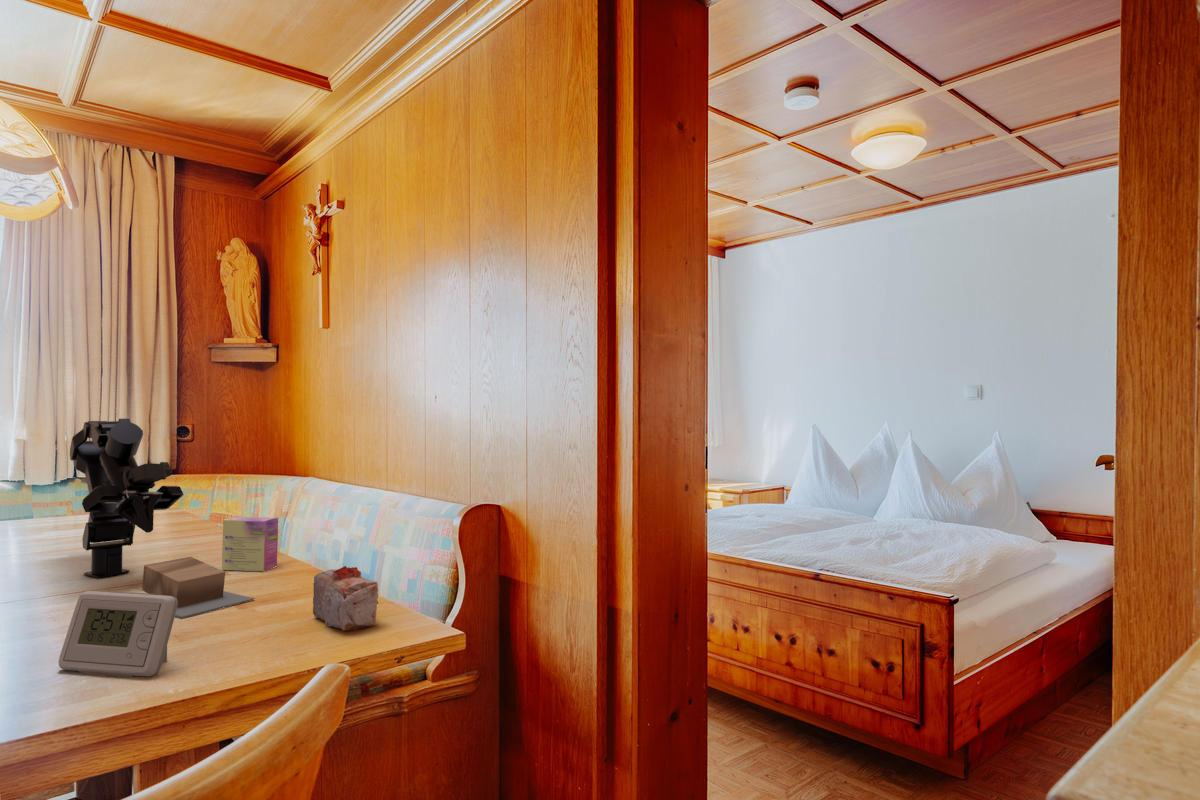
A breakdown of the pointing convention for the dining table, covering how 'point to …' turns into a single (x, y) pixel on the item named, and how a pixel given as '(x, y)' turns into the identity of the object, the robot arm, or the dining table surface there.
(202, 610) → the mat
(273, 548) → the box
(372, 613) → the food item
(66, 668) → the digital clock
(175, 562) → the walnut block
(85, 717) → the dining table surface
